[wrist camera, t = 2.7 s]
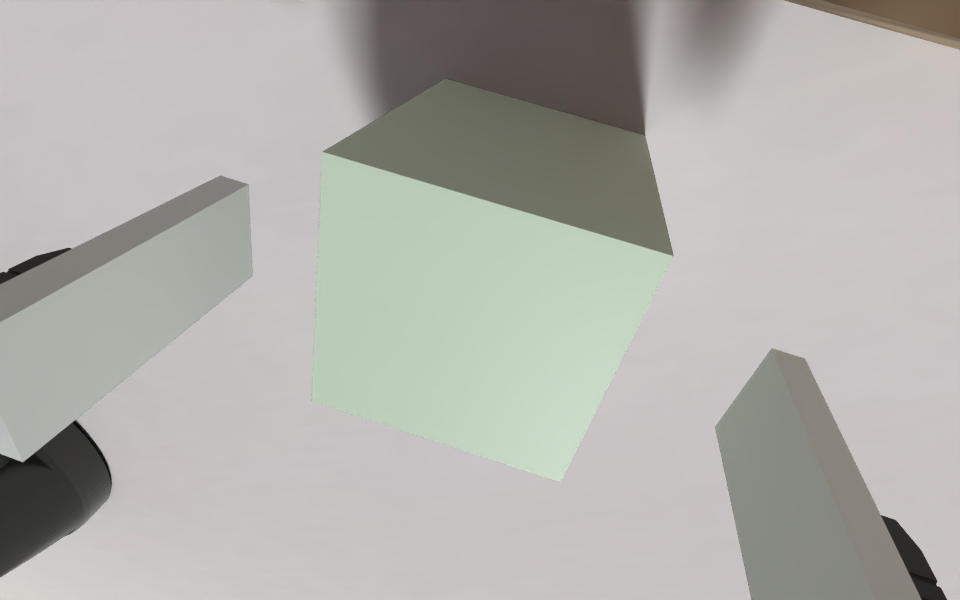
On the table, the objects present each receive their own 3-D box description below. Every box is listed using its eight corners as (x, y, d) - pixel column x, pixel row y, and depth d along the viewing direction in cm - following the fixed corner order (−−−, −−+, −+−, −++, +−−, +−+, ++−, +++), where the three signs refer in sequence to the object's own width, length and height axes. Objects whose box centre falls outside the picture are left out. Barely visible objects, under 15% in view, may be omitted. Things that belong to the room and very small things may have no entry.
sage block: (415, 253, 21) (311, 401, 14) (445, 78, 17) (321, 151, 10) (577, 303, 21) (560, 482, 13) (644, 135, 17) (673, 256, 10)
